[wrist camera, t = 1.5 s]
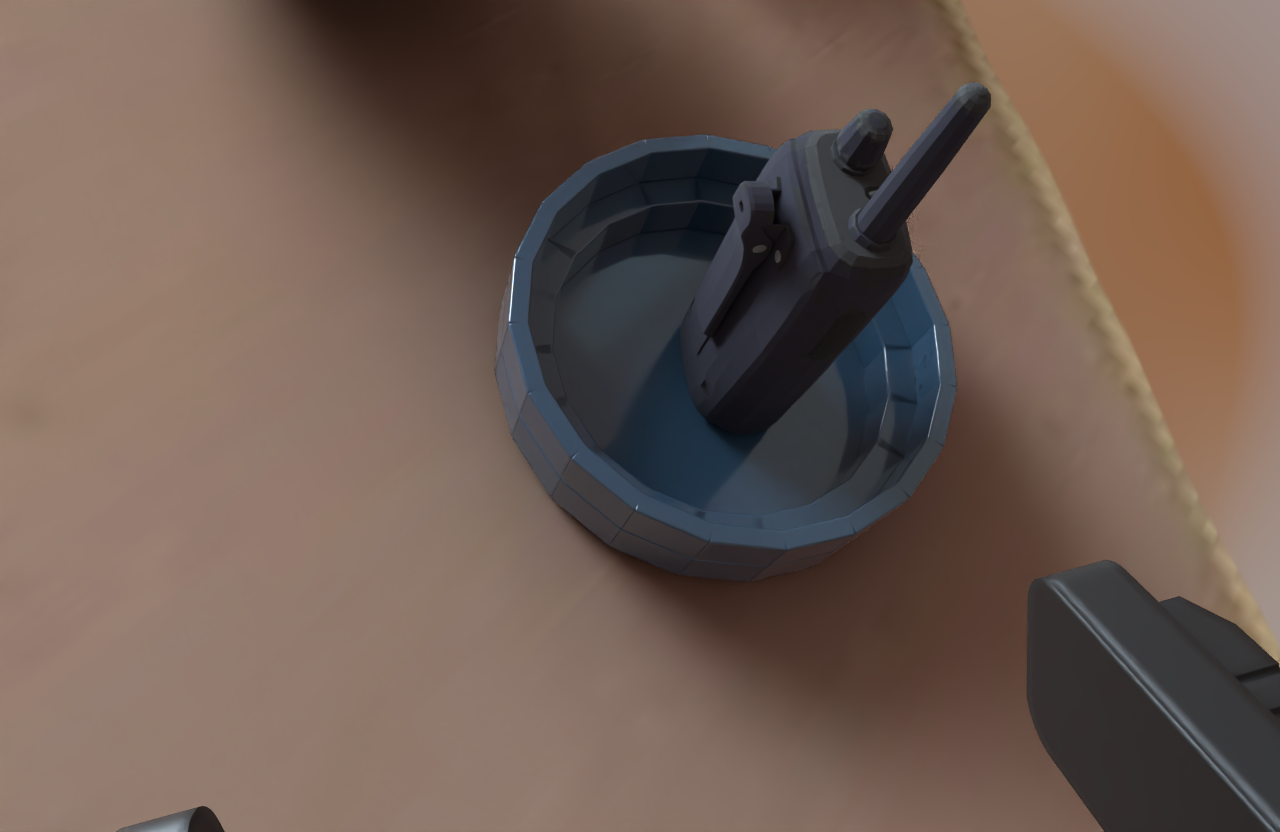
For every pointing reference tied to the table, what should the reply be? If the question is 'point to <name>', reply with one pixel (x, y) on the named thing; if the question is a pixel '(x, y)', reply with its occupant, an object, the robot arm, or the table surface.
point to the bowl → (657, 388)
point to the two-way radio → (810, 261)
